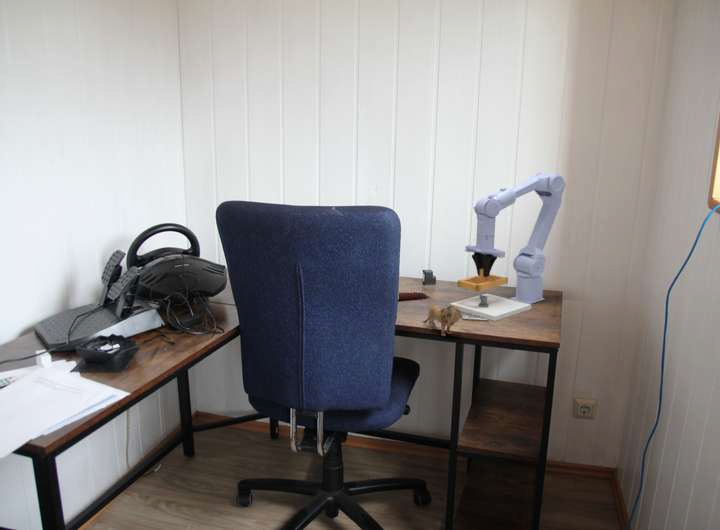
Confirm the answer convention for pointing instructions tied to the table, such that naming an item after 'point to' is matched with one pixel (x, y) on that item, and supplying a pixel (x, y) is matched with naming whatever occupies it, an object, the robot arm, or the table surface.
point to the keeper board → (491, 306)
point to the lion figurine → (444, 317)
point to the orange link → (482, 282)
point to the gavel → (412, 296)
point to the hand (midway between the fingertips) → (483, 275)
